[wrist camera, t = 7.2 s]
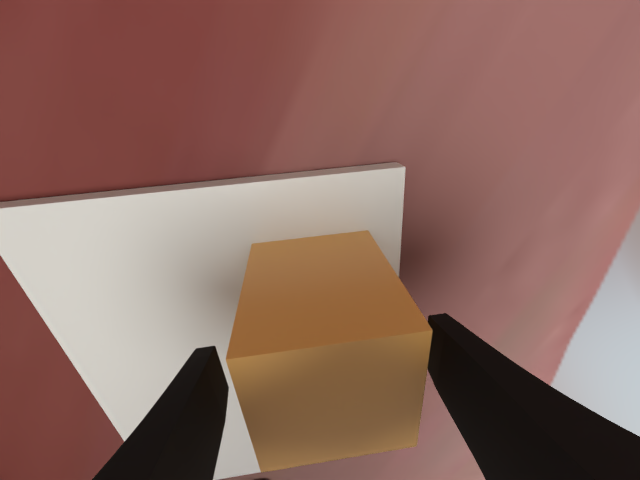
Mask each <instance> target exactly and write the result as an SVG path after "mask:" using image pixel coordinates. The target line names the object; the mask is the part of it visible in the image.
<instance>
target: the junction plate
mask: <svg viewBox="0 0 640 480" xmlns="http://www.w3.org/2000/svg"><path fill="white" fill-rule="evenodd" d="M404 184H405V166H403V165H401V164H399V163H398V162H391V163H382V164H372V165H362V166H352V167H342V168H332V169H322V170H312V171H302V172H293V173H283V174H273V175H263V176H253V177H243V178H233V179H223V180H213V181H204V182H194V183H184V184H174V185H164V186H154V187H144V188H134V189H124V190H115V191H105V192H95V193H85V194H75V195H65V196H55V197H45V198H35V199H25V200H16V201H6V202H0V255H1V257H2V258H3V260H4V261H5V263H6V264H7V266H8V267H9V269H10V270H11V272H12V273H13V275H14V276H15V278H16V279H17V281H18V282H19V284H20V285H21V287H22V288H23V290H24V291H25V293H26V294H27V296H28V297H29V299H30V300H31V302H32V303H33V305H34V306H35V308H36V309H37V311H38V312H39V314H40V315H41V317H42V318H43V320H44V321H45V323H46V324H47V326H48V327H49V329H50V330H51V332H52V333H53V335H54V336H55V338H56V339H57V341H58V342H59V344H60V345H61V347H62V348H63V350H64V351H65V353H66V354H67V356H68V357H69V359H70V360H71V362H72V363H73V365H74V366H75V368H76V369H77V371H78V372H79V374H80V375H81V377H82V378H83V380H84V381H85V383H86V384H87V386H88V387H89V389H90V390H91V392H92V393H93V395H94V397H95V398H96V400H97V401H98V403H99V404H100V406H101V407H102V409H103V410H104V412H105V413H106V415H107V416H108V418H109V419H110V421H111V422H112V424H113V425H114V427H115V428H116V430H117V431H118V433H119V434H120V436H121V437H122V439H123V440H124V442H125V441H126V439H127V438H128V437H129V436H130V434H131V433H132V432H133V431H134V430H135V428H136V427H137V426H138V425H139V423H140V422H141V421H142V420H143V418H144V417H145V416H146V415H147V413H148V412H149V411H150V409H151V408H152V407H153V405H154V404H155V403H156V402H157V400H158V399H159V398H160V396H161V395H162V394H163V392H164V391H165V390H166V388H167V387H168V386H169V384H170V383H171V382H172V380H173V379H174V377H175V376H176V375H177V373H178V372H179V371H180V369H181V368H182V366H183V365H184V364H185V362H186V361H187V360H188V358H189V357H190V355H191V354H192V353H193V351H194V350H195V349H196V348H202V347H209V346H215V347H216V350H217V353H218V356H219V359H220V362H221V365H222V368H223V371H224V374H225V377H226V380H227V383H228V386H229V392H228V402H227V411H226V420H225V425H224V430H223V435H222V440H221V444H220V449H219V454H218V458H217V463H216V467H215V472H214V477H213V480H218V479H224V478H230V477H235V476H241V475H247V474H253V473H259V472H261V471H260V468H259V464H258V461H257V458H256V455H255V452H254V448H253V445H252V442H251V439H250V436H249V433H248V429H247V426H246V423H245V420H244V417H243V414H242V410H241V407H240V404H239V401H238V398H237V394H236V391H235V388H234V385H233V382H232V379H231V375H230V372H229V369H228V366H227V363H226V355H227V351H228V347H229V342H230V338H231V333H232V329H233V324H234V320H235V316H236V311H237V307H238V302H239V298H240V293H241V289H242V285H243V280H244V276H245V271H246V267H247V262H248V258H249V253H250V249H251V245H252V244H253V243H262V242H270V241H279V240H288V239H296V238H305V237H314V236H322V235H331V234H340V233H349V232H357V231H366V230H368V231H369V232H370V234H371V235H372V237H373V239H374V240H375V242H376V243H377V245H378V246H379V248H380V249H381V251H382V252H383V254H384V256H385V257H386V259H387V260H388V262H389V263H390V265H391V266H392V268H393V270H394V271H395V273H396V274H397V276H398V277H399V268H400V251H401V234H402V218H403V201H404Z"/></svg>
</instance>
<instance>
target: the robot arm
mask: <svg viewBox="0 0 640 480" xmlns="http://www.w3.org/2000/svg"><path fill="white" fill-rule="evenodd" d="M428 324H429V325H430V327H431V328H432V330H433V332H432V339H431V346H430V353H429V360H428V371H429V373H430V375H431V378H432V380H433V382H434V385H435V387H436V389H437V391H438V393H439V395H440V397H441V398H442V400H443V402H444V404H445V406H446V407H447V409H448V411H449V413H450V415H451V417H452V418H453V420H454V422H455V424H456V425H457V427H458V429H459V431H460V433H461V434H462V436H463V438H464V440H465V442H466V443H467V445H468V447H469V449H470V451H471V452H472V454H473V456H474V458H475V460H476V462H477V463H478V465H479V467H480V469H481V471H482V473H483V475H484V477H485V479H486V480H640V437H639V436H637V435H636V434H633V433H632V432H630V431H628V430H626V429H624V428H622V427H620V426H618V425H617V424H615V423H613V422H611V421H609V420H607V419H606V418H604V417H602V416H600V415H598V414H597V413H595V412H593V411H591V410H590V409H588V408H586V407H585V406H583V405H581V404H579V403H578V402H576V401H574V400H572V399H570V398H569V397H567V396H566V395H564V394H562V393H561V392H559V391H557V390H556V389H554V388H553V387H551V386H549V385H548V384H546V383H545V382H543V381H542V380H540V379H539V378H537V377H535V376H534V375H532V374H531V373H529V372H528V371H526V370H525V369H523V368H522V367H520V366H519V365H517V364H516V363H514V362H513V361H511V360H510V359H509V358H507V357H506V356H504V355H503V354H501V353H500V352H499V351H497V350H496V349H494V348H493V347H492V346H490V345H489V344H487V343H486V342H485V341H483V340H482V339H480V338H479V337H478V336H476V335H475V334H474V333H472V332H471V331H470V330H468V329H467V328H466V327H464V326H463V325H461V324H460V323H459V322H457V321H456V320H455V319H453V318H452V317H450V316H449V315H448V314H446V313H444V314H437V315H430V316H429V317H428ZM228 392H229V386H228V383H227V380H226V377H225V374H224V371H223V368H222V365H221V362H220V359H219V356H218V353H217V350H216V347H215V346H209V347H202V348H196V349H195V350H194V351H193V353H192V354H191V355H190V357H189V358H188V360H187V361H186V362H185V364H184V365H183V366H182V368H181V369H180V371H179V372H178V373H177V375H176V376H175V377H174V379H173V380H172V382H171V383H170V384H169V386H168V387H167V388H166V390H165V391H164V392H163V394H162V395H161V396H160V398H159V399H158V400H157V402H156V403H155V404H154V405H153V407H152V408H151V409H150V411H149V412H148V413H147V415H146V416H145V417H144V418H143V420H142V421H141V422H140V423H139V425H138V426H137V427H136V428H135V430H134V431H133V432H132V433H131V434H130V436H129V437H128V438H127V439H126V441H125V442H124V443H123V444H122V445H121V447H120V448H119V449H118V450H117V451H116V453H115V454H114V455H113V456H112V457H111V459H110V460H109V461H108V462H107V463H106V464H105V465H104V467H103V468H102V469H101V470H100V471H99V472H98V473H97V475H96V476H95V477H94V478H93V479H92V480H213V477H214V472H215V467H216V463H217V458H218V454H219V449H220V444H221V440H222V435H223V430H224V425H225V420H226V411H227V402H228Z"/></svg>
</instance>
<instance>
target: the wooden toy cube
mask: <svg viewBox="0 0 640 480" xmlns="http://www.w3.org/2000/svg"><path fill="white" fill-rule="evenodd" d="M432 332H433V330H432V328H431V327H430V325H429V324H428V322H427V321H426V319H425V318H424V316H423V314H422V313H421V311H420V310H419V308H418V307H417V305H416V304H415V302H414V301H413V299H412V297H411V296H410V294H409V293H408V291H407V290H406V288H405V287H404V285H403V283H402V282H401V280H400V279H399V277H398V276H397V274H396V273H395V271H394V270H393V268H392V266H391V265H390V263H389V262H388V260H387V259H386V257H385V256H384V254H383V252H382V251H381V249H380V248H379V246H378V245H377V243H376V242H375V240H374V239H373V237H372V235H371V234H370V232H369V231H368V230H366V231H357V232H349V233H340V234H331V235H322V236H314V237H305V238H296V239H288V240H279V241H270V242H262V243H253V244H252V245H251V249H250V253H249V258H248V262H247V267H246V271H245V276H244V280H243V285H242V289H241V293H240V298H239V302H238V307H237V311H236V316H235V320H234V324H233V329H232V333H231V338H230V342H229V347H228V351H227V355H226V363H227V366H228V369H229V372H230V375H231V379H232V382H233V385H234V388H235V391H236V394H237V398H238V401H239V404H240V407H241V410H242V414H243V417H244V420H245V423H246V426H247V429H248V433H249V436H250V439H251V442H252V445H253V448H254V452H255V455H256V458H257V461H258V464H259V468H260V471H261V473H262V472H268V471H274V470H280V469H286V468H291V467H297V466H303V465H309V464H315V463H321V462H327V461H333V460H338V459H344V458H350V457H356V456H362V455H368V454H374V453H380V452H385V451H391V450H397V449H403V448H409V447H415V446H417V440H418V432H419V425H420V418H421V411H422V404H423V396H424V389H425V382H426V375H427V368H428V360H429V353H430V346H431V339H432Z"/></svg>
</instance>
